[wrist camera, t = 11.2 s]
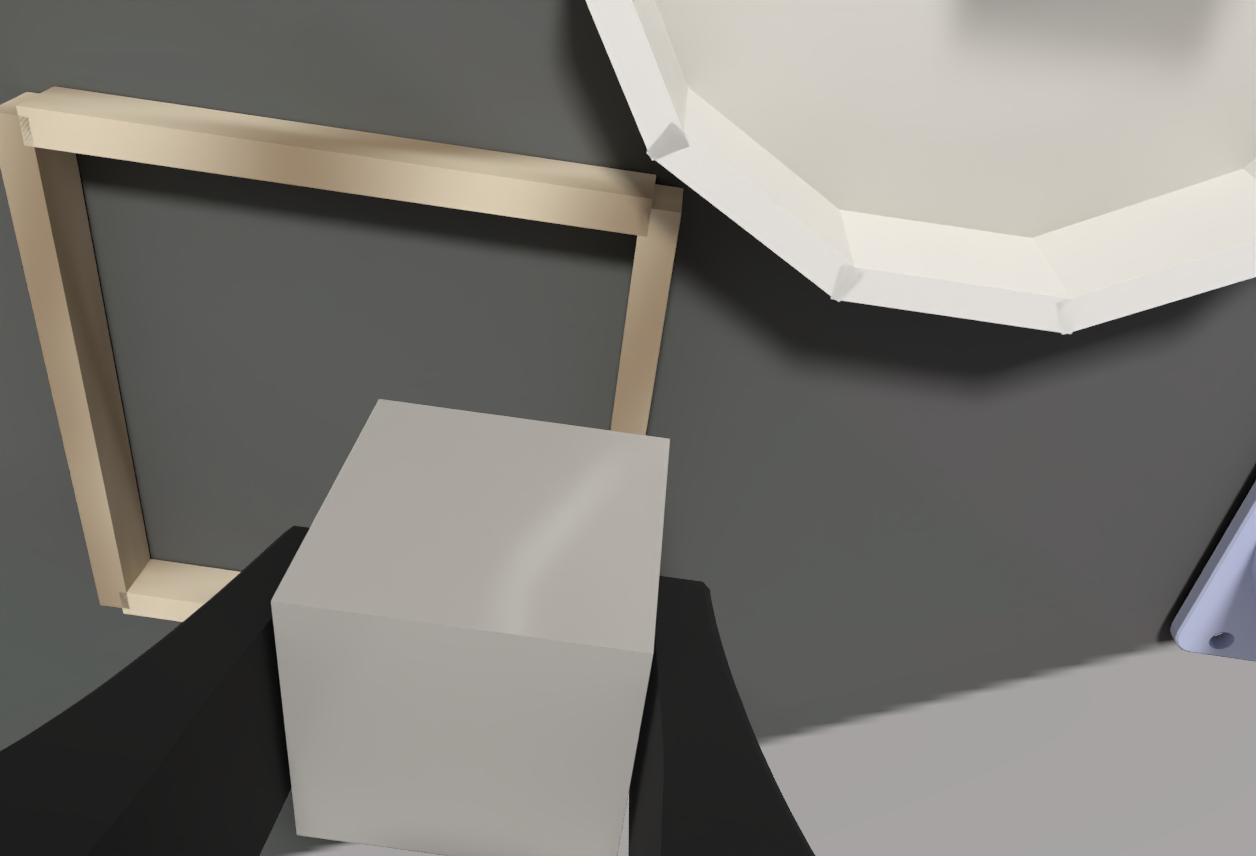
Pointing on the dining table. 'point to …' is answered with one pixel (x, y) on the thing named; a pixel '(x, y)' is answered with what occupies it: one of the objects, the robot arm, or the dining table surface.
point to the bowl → (962, 144)
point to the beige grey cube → (473, 635)
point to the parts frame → (284, 153)
